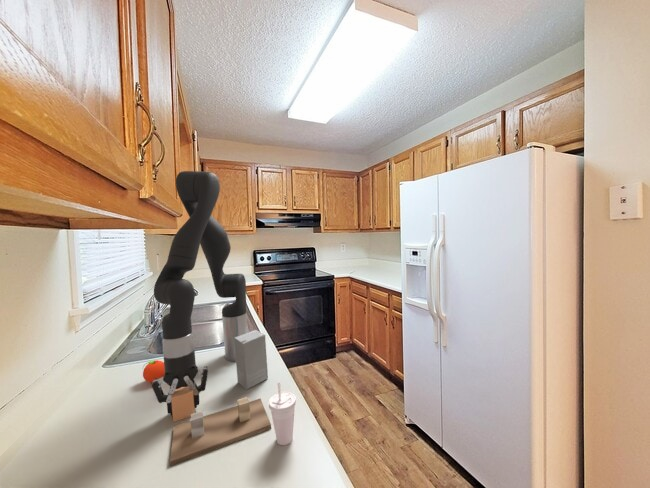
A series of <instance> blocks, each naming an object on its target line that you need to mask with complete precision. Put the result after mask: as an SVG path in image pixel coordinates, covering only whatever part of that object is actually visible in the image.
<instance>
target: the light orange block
mask: <svg viewBox="0 0 650 488" xmlns="http://www.w3.org/2000/svg"><path fill="white" fill-rule="evenodd" d="M171 403H172V414H173V415H172V422H173V423H174V422H175V423H176V422H178V421H181V420H183V419H186V418H187V419H188V418H191V414H193V413H196V408H194V394H193V389H192V390H190V388H189V386H187V387H181V388H179V389H175V391H174V394H173V395H171Z"/></svg>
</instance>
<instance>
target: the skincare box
mask: <svg viewBox="0 0 650 488" xmlns="http://www.w3.org/2000/svg"><path fill="white" fill-rule="evenodd" d="M234 341H235V354H236V361H235V363H236V375H237V376H236V377H237V383H238V384H239V385H240V386H242V387H243V388H244V389H245V390H248V389H251V388H252V387H254V386H256V385H258V384H261V382H263V381H265V380H267V379H268V378H269V374H268V361H267V360H268V359H267V356H268V355H267V341H266V334H264V333H262V332H261V331H259V330H257V329H253V330H252V331H248V333H246V334H243V335H240V336H238V337H235V338H234Z"/></svg>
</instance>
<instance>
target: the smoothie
mask: <svg viewBox="0 0 650 488" xmlns="http://www.w3.org/2000/svg"><path fill="white" fill-rule="evenodd" d="M277 389H278V390H277V393H275V394H273V395H272V396H271V397H270V398H269V400H268V408H269V410H270V413H271V418H272V423H273V428H274V434H275V439H276V442H277V444H278V445H280V446H287V445H289V444H291V442H292V441H293V439H294V438H293V437H294V436H293V435H294V422H295V408H296V407H295V406H296V405H297V398H296V395H295V394H294V393H292V392H290V391H282V389H281V381H277Z"/></svg>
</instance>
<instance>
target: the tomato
mask: <svg viewBox="0 0 650 488" xmlns="http://www.w3.org/2000/svg"><path fill="white" fill-rule="evenodd" d="M141 369H143V371H142V377H143V379H144V381H146V382H148V383H151V384H152V383H153V380H154V379H156V378H157V379H159V378H162V377H164V374H165V368H164V361H163V360H159V359H158V360H157V359H156V360H151V361H147V362H146V363H145V366H144V367H142V368H141Z"/></svg>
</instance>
